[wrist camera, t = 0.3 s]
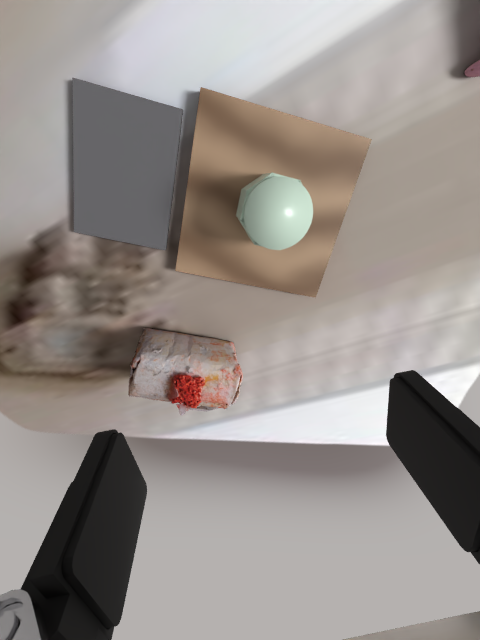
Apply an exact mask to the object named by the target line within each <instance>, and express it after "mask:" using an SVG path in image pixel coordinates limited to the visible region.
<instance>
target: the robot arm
mask: <svg viewBox="0 0 480 640" xmlns="http://www.w3.org/2000/svg"><path fill="white" fill-rule="evenodd" d="M386 436H387V440H388V443H389V445H390V446H391V448H392V449H393V450H394V452H395V453H396V455H397V456H398V458H399V459H400V460H401V462H402V463H403V465H404V466H405V468H406V469H407V470H408V472H409V473H410V475H411V476H412V478H413V479H414V480H415V482H416V483H417V485H418V486H419V488H420V489H421V490H422V492H423V493H424V495H425V496H426V498H427V499H428V500H429V502H430V503H431V505H432V506H433V508H434V509H435V510H436V512H437V513H438V515H439V516H440V518H441V519H442V520H443V522H444V523H445V524H446V526H447V528H448V529H449V530H450V532H451V533H452V535H453V536H454V538H455V539H456V540H457V542H458V543H459V545H460V546H461V547H462V548H463V549H464V550H465V551H467V552H471V553H472V555H473V556H474V558H475V559H476V560H477V562H478V563H479V564H480V427H479V426H478V425H476V424H475V423H474V422H473V421H472V420H471V419H470V418H469V417H467V416H466V415H465V414H464V413H463V412H462V411H461V410H460V409H458V408H457V407H455V406H454V405H453V404H452V403H451V402H450V401H449V400H447V399H446V398H445V397H444V396H443V395H442V394H441V393H440V392H438V391H437V390H436V389H435V388H434V387H433V386H432V385H431V384H429V383H428V382H427V381H426V380H425V379H424V378H423V377H422V376H420V375H419V374H418V373H417V372H416V371H413V370H411V371H406V372H401V373H396V374H395V375H394V378H393V379H391V380H390V387H389V402H388V416H387V431H386ZM146 494H147V486H146V482H145V480H144V478H143V476H142V474H141V472H140V470H139V467H138V465H137V463H136V461H135V459H134V457H133V455H132V452H131V450H130V448H129V446H128V444H127V442H126V440H125V437H124V435H123V434H122V433H118V432H117V430H109V431H103V432H98V433H97V434H96V435H95V436H94V438H93V440H92V443H91V444H90V447H89V449H88V451H87V453H86V456H85V457H84V460H83V462H82V464H81V466H80V468H79V470H78V473H77V475H76V477H75V479H74V481H73V482H72V483H71V484H70V486H69V488H68V490H67V492H66V494H65V496H64V498H63V501H62V502H61V505H60V507H59V509H58V511H57V513H56V515H55V517H54V520H53V522H52V524H51V526H50V528H49V530H48V533H47V534H46V537H45V539H44V541H43V543H42V545H41V547H40V549H39V551H38V554H37V556H36V558H35V560H34V562H33V564H32V566H31V568H30V571H29V573H28V575H27V577H26V579H25V581H24V583H23V585H22V588H21V589H19V590H11V591H9V592H7V593H5V594H2V595H0V640H111V639H112V634H113V630H114V626H117V625H118V624H119V622H120V620H121V616H122V612H123V607H124V602H125V597H126V592H127V588H128V582H129V578H130V573H131V568H132V563H133V558H134V553H135V549H136V543H137V538H138V534H139V529H140V524H141V519H142V514H143V510H144V505H145V500H146ZM344 640H480V611H479V612H474V613H469V614H464V615H460V616H454V617H450V618H444V619H440V620H435V621H430V622H425V623H421V624H416V625H411V626H406V627H401V628H396V629H392V630H387V631H382V632H377V633H372V634H367V635H363V636H358V637H354V638H349V639H344Z"/></svg>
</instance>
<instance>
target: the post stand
mask: <svg viewBox="0 0 480 640" xmlns="http://www.w3.org/2000/svg"><path fill="white" fill-rule="evenodd" d="M371 140H372V139H368V138H365V137H362V136H359V135H355V134H352V133H349V132H346V131H342V130H339V129H336V128H332V127H329V126H326V125H323V124H319V123H316V122H313V121H310V120H306V119H303V118H300V117H297V116H293V115H290V114H287V113H284V112H280V111H277V110H274V109H270V108H267V107H264V106H261V105H257V104H254V103H251V102H248V101H244V100H241V99H238V98H235V97H231V96H228V95H225V94H222V93H218V92H215V91H212V90H208V89H205V88H202V87H201V89H200V96H199V103H198V110H197V118H196V125H195V132H194V139H193V147H192V154H191V161H190V169H189V176H188V183H187V190H186V198H185V205H184V212H183V219H182V227H181V234H180V241H179V248H178V256H177V263H176V270H175V271H179V272H184V273H189V274H195V275H200V276H205V277H210V278H216V279H221V280H226V281H231V282H237V283H242V284H247V285H252V286H258V287H263V288H268V289H273V290H279V291H284V292H289V293H294V294H300V295H305V296H310V297H316V295H317V292H318V289H319V286H320V283H321V281H322V278H323V275H324V272H325V269H326V267H327V264H328V261H329V258H330V255H331V252H332V250H333V247H334V244H335V241H336V238H337V236H338V233H339V230H340V227H341V224H342V222H343V219H344V216H345V213H346V210H347V208H348V205H349V202H350V199H351V196H352V193H353V191H354V188H355V185H356V182H357V179H358V177H359V174H360V171H361V168H362V165H363V163H364V160H365V157H366V154H367V151H368V148H369V146H370V143H371ZM272 172H273V173H275V174H279V175H283V176H287V177H290V178H294V179H298V180H301V183H302V185H303V186H304V187H305V188H306V190H307V191H308V193H309V195H310V197H311V200H312V204H313V218H312V222H311V225H310V227H309V229H308V231H307V233H306V234H305V236H304V237H303V238H302V239H301V240H300V241H299V242H298V243H296V244H295V245H293V246H291V247H289V248H286V249H282V250H272V249H268V248H265V247H262V246H258V245H254V244H253V242H252V241H251V239H250V238H249V236H248V234H247V233H246V231H245V229H244V228H243V226H242V224H241V223H240V221H239V219H238V218H237V216H236V213H237V208H238V203H239V198H240V194H241V189H242V188H244V187H245V186H247V185H248V184H249V183H251V182H252V181H254V180H255V179H257V178H258V177H260V176H261V175H262V174H266V173H272Z"/></svg>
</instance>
